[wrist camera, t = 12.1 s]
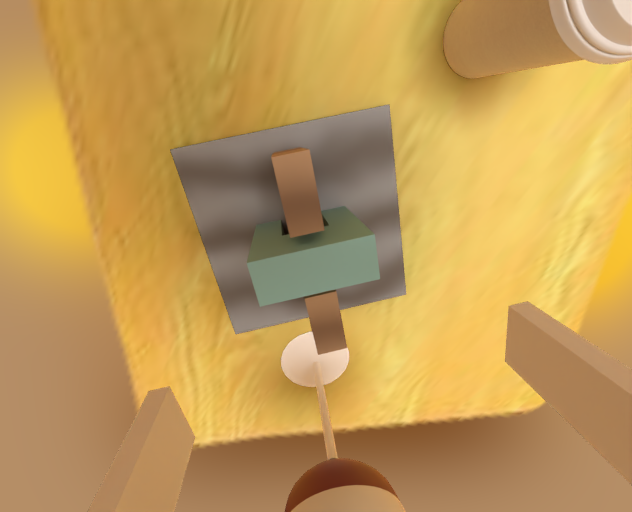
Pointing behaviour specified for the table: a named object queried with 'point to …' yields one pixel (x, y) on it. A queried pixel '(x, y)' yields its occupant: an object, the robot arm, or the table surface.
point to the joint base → (296, 209)
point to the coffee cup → (535, 34)
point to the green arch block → (312, 258)
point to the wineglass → (332, 444)
